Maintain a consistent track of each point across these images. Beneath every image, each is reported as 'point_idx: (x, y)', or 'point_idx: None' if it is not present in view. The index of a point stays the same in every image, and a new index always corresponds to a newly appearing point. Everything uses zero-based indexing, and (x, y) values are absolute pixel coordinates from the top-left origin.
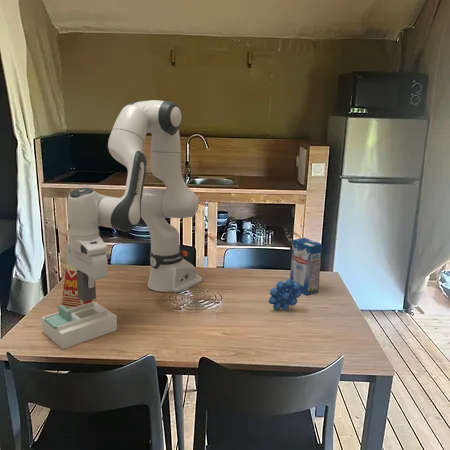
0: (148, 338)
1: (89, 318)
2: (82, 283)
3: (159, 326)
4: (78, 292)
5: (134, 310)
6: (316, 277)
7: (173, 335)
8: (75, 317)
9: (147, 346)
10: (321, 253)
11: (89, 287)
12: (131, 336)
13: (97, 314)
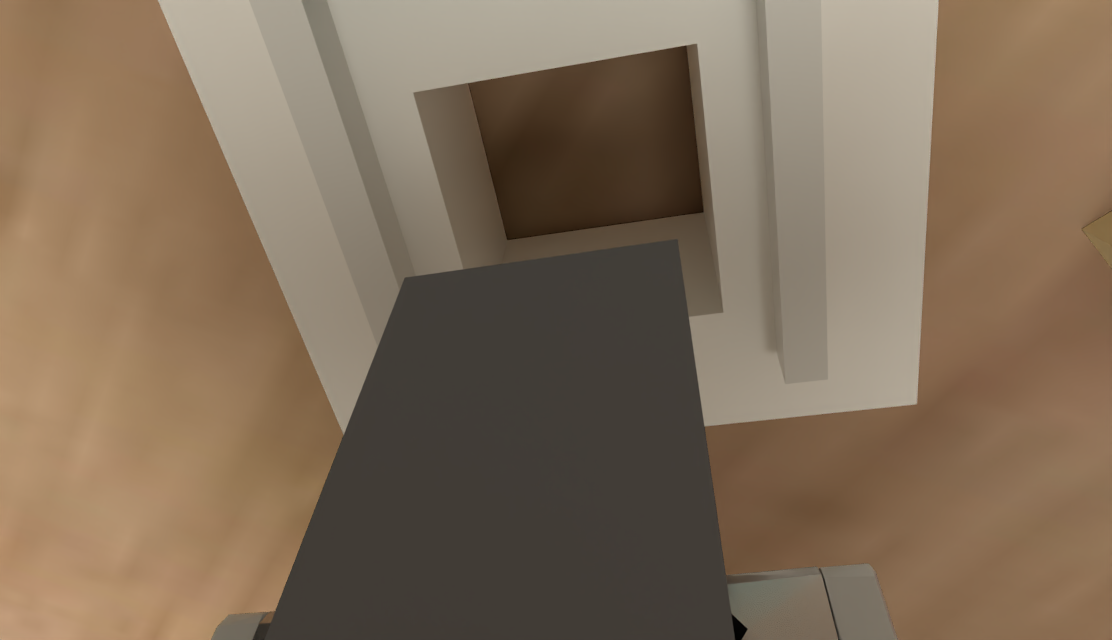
0: (143, 487)
1: (327, 181)
2: (322, 617)
3: None
4: (649, 322)
5: None
6: None
7: (141, 618)
8: (550, 14)
9: (6, 436)
10: None
11: (224, 622)
12: (222, 403)
13: (372, 309)
